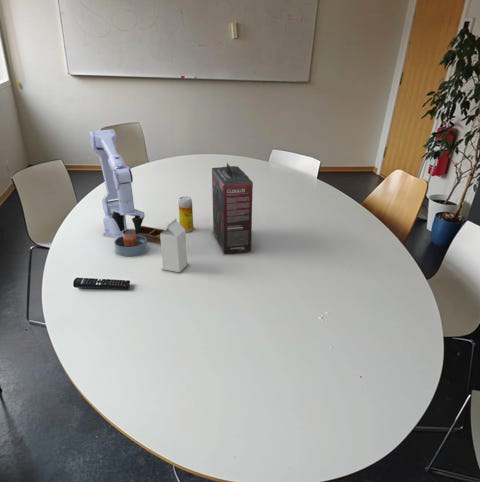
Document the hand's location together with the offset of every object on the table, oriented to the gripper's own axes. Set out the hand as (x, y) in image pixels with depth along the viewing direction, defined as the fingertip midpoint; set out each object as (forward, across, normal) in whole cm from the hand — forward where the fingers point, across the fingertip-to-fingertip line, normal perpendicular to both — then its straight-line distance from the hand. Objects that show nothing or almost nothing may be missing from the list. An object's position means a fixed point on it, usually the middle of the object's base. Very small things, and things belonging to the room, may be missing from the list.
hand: (130, 231), depth 177 cm
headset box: (+9, +35, +25) cm, 43 cm away
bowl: (+8, 0, 0) cm, 9 cm away
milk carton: (+9, +24, -6) cm, 26 cm away
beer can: (+9, +11, +29) cm, 32 cm away
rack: (+8, +2, +13) cm, 16 cm away
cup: (+8, 0, 0) cm, 8 cm away
